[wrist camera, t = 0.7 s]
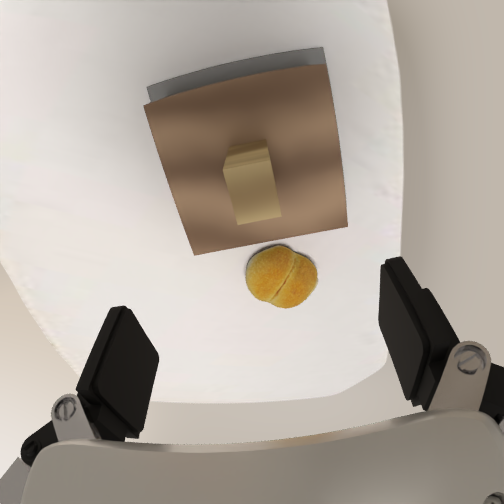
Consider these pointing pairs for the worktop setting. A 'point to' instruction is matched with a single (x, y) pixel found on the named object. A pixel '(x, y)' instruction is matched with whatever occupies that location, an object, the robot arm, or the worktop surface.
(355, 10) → the worktop surface
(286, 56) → the rubber mat
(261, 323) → the worktop surface
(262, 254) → the bread roll
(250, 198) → the square lid with knob
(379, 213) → the worktop surface
